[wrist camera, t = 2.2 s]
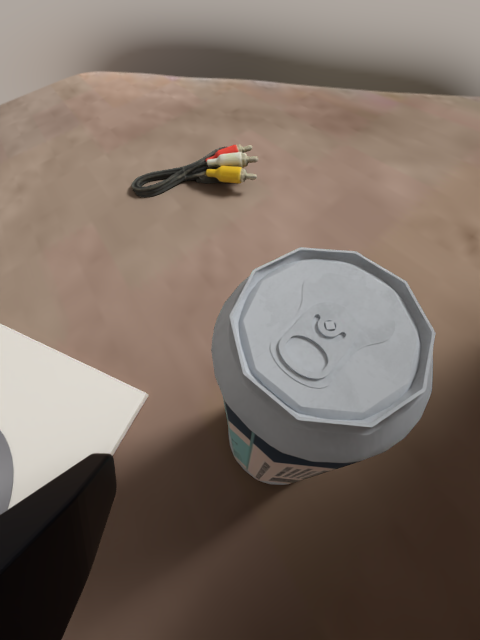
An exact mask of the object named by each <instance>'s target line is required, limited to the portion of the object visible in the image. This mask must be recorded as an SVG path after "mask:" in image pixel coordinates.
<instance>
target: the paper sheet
mask: <svg viewBox="0 0 480 640" xmlns="http://www.w3.org/2000/svg"><path fill="white" fill-rule="evenodd" d="M147 397H148V394H147V393H145V392H143V391H141V390H139V389H136V388H134V387H132V386H130V385H128V384H126V383H124V382H122V381H120V380H118V379H115V378H113V377H111V376H109V375H107V374H105V373H103V372H101V371H99V370H97V369H94V368H92V367H90V366H88V365H86V364H84V363H82V362H80V361H78V360H76V359H73V358H71V357H69V356H67V355H65V354H63V353H61V352H59V351H57V350H55V349H52V348H50V347H48V346H46V345H44V344H42V343H40V342H38V341H36V340H34V339H31V338H29V337H27V336H25V335H23V334H21V333H19V332H17V331H15V330H13V329H10V328H8V327H6V326H4V325H2V324H0V514H2V513H3V512H5V511H6V510H8V509H9V508H11V507H12V506H14V505H15V504H17V503H18V502H20V501H21V500H23V499H24V498H26V497H27V496H29V495H30V494H32V493H33V492H35V491H36V490H38V489H39V488H41V487H42V486H44V485H45V484H47V483H48V482H50V481H51V480H53V479H54V478H56V477H57V476H59V475H60V474H62V473H63V472H65V471H66V470H68V469H69V468H71V467H72V466H74V465H75V464H77V463H78V462H80V461H81V460H83V459H84V458H86V457H87V456H89V455H91V454H93V453H109V454H111V455H112V456H113V454H114V453H115V451H116V449H117V448H118V446H119V444H120V443H121V441H122V439H123V437H124V436H125V434H126V432H127V431H128V429H129V427H130V426H131V424H132V422H133V421H134V419H135V417H136V416H137V414H138V412H139V411H140V409H141V407H142V406H143V404H144V402H145V401H146V399H147Z"/></svg>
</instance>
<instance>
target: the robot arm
mask: <svg viewBox="0 0 480 640" xmlns="http://www.w3.org/2000/svg"><path fill="white" fill-rule="evenodd" d="M115 493H116V476H115V467H114V459H113V456H112V455H111V454H109V453H93V454H91V455H89V456H87V457H86V458H84V459H83V460H81V461H80V462H78V463H77V464H75V465H74V466H72V467H71V468H69V469H68V470H66V471H65V472H63V473H62V474H60V475H59V476H57V477H56V478H54V479H53V480H51V481H50V482H48V483H47V484H45V485H44V486H42V487H41V488H39V489H38V490H36V491H35V492H33V493H32V494H30V495H29V496H27V497H26V498H24V499H23V500H21V501H20V502H18V503H17V504H15V505H14V506H12V507H11V508H9V509H8V510H6V511H5V512H3V513H2V514H0V640H61V639H62V637H63V635H64V632H65V630H66V628H67V625H68V623H69V621H70V618H71V616H72V614H73V611H74V609H75V607H76V604H77V602H78V600H79V597H80V595H81V593H82V590H83V588H84V586H85V583H86V581H87V578H88V576H89V573H90V570H91V568H92V565H93V562H94V559H95V556H96V553H97V550H98V547H99V543H100V540H101V537H102V534H103V531H104V528H105V525H106V522H107V519H108V516H109V513H110V510H111V507H112V503H113V500H114V497H115Z"/></svg>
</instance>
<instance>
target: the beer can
mask: <svg viewBox="0 0 480 640" xmlns="http://www.w3.org/2000/svg"><path fill="white" fill-rule="evenodd" d="M434 339H435V331H434V329H433V328H432V326H431V324H430V322H429V321H428V319H427V317H426V315H425V313H424V312H423V310H422V308H421V306H420V305H419V303H418V301H417V299H416V298H415V296H414V294H413V292H412V290H411V289H410V287H409V285H408V283H407V282H406V281H405V280H403V279H401V278H400V277H398V276H396V275H395V274H393V273H391V272H390V271H388V270H386V269H385V268H383V267H381V266H380V265H378V264H376V263H374V262H373V261H371V260H369V259H368V258H366V257H364V256H363V255H361V254H359V253H358V252H356V251H343V250H330V249H316V248H302V247H300V248H298V249H296V250H294V251H292V252H289V253H287V254H285V255H283V256H281V257H279V258H277V259H275V260H273V261H271V262H269V263H266V264H264V265H262V266H260V267H258V268H256V269H254V270H253V271H252V273H251V275H250V276H249V277H248V278H247V279H245V280H244V281H243V282H242V283H241V284H240V285H239V286H238V287H237V288H236V290H235V291H234V292H233V293H232V295H231V296H230V297H229V298H228V299H227V301H226V302H225V303H224V305H223V307H222V309H221V311H220V314H219V316H218V318H217V321H216V324H215V327H214V333H213V338H212V349H211V351H212V358H213V365H214V372H215V377H216V380H217V382H218V385H219V387H220V390H221V392H222V395H223V399H224V405H225V411H226V416H227V422H228V435H229V442H230V447H231V450H232V453H233V455H234V458H235V459H236V461H237V462H238V463H239V464H240V466H241V467H242V468H243V469H244V470H245V471H246V472H247V473H248V474H250V475H251V476H252V477H253V478H255V479H257V480H258V481H261V482H264V483H268V484H277V485H285V484H291V483H294V482H297V481H300V480H303V479H306V478H309V477H313V476H316V475H319V474H322V473H325V472H328V471H331V470H334V469H337V468H341V467H344V466H347V465H350V464H353V463H356V462H359V461H362V460H365V459H367V458H370V457H373V456H375V455H378V454H380V453H383V452H385V451H387V450H388V449H390V448H391V447H392V446H394V445H395V444H397V443H398V442H399V441H401V440H402V439H404V438H405V437H406V436H407V435H408V433H409V432H410V431H411V430H412V428H413V427H414V426H415V425H416V424H417V422H418V421H419V420H420V419H421V417H422V414H423V412H424V410H425V407H426V405H427V403H428V400H429V398H430V395H431V392H432V378H433V345H434Z"/></svg>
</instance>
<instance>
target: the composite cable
mask: <svg viewBox="0 0 480 640" xmlns="http://www.w3.org/2000/svg"><path fill="white" fill-rule="evenodd" d="M251 149H252V146H251V145H249V146H246V147H242V146H241V145H233V146H230V147H222V148H218V149H216V150H214V151H212V152H211V153H209V154H208V155H206V156H205V157H203V158H202V159H200V160H198V161H196V162H194V163H192V164H189V165H187V166H184V167H180V168H174V169H168V170H162V171H156V172H151V173H148V174H145V175H142V176H140V177H138V178H136V179H135V180H134V181H133V183H132V189H133V191H134V192H135V193H136V194H137V195H138V196H140V197H152V196H155V195H158V194H160V193H162V192H165V191H166V190H168V189H170V188H172V187H173V186H175V185H177V184H178V183H180V182H182V181H188V180H195V181H196V182H198V183H199V182H202V183H241V182H244V181H245V180H246V179H251V180H255V179H256V178H257V175H256V174H247V173H246V170H245V169H242V168H244V167H246V166H247V165H248V163H252V162H257V161H258V157H257V156H253V157H248V156H247V155H246V153H244V152H247V151H250V150H251ZM163 179H166V180H163ZM156 180H163V181H162V182H159V183H156V184H154V185H150V186H147V187H141V186H142V185H144V184H145V183H148V182H151V181H156Z"/></svg>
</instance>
